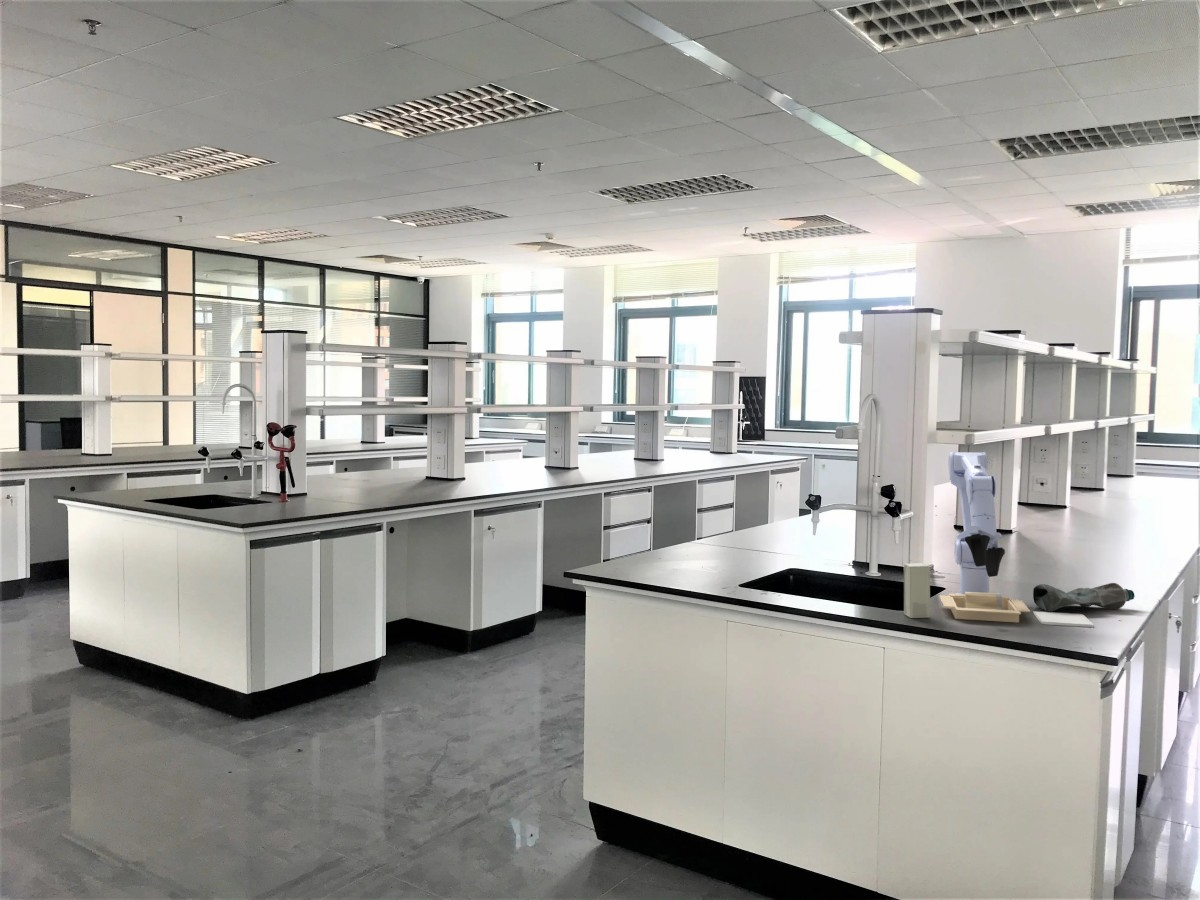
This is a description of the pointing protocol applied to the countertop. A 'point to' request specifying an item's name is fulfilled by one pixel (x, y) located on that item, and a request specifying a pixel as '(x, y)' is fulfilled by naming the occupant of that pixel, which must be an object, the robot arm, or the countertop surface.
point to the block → (983, 600)
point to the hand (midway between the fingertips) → (986, 570)
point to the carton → (1007, 614)
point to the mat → (1063, 619)
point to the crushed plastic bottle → (1082, 597)
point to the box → (917, 590)
